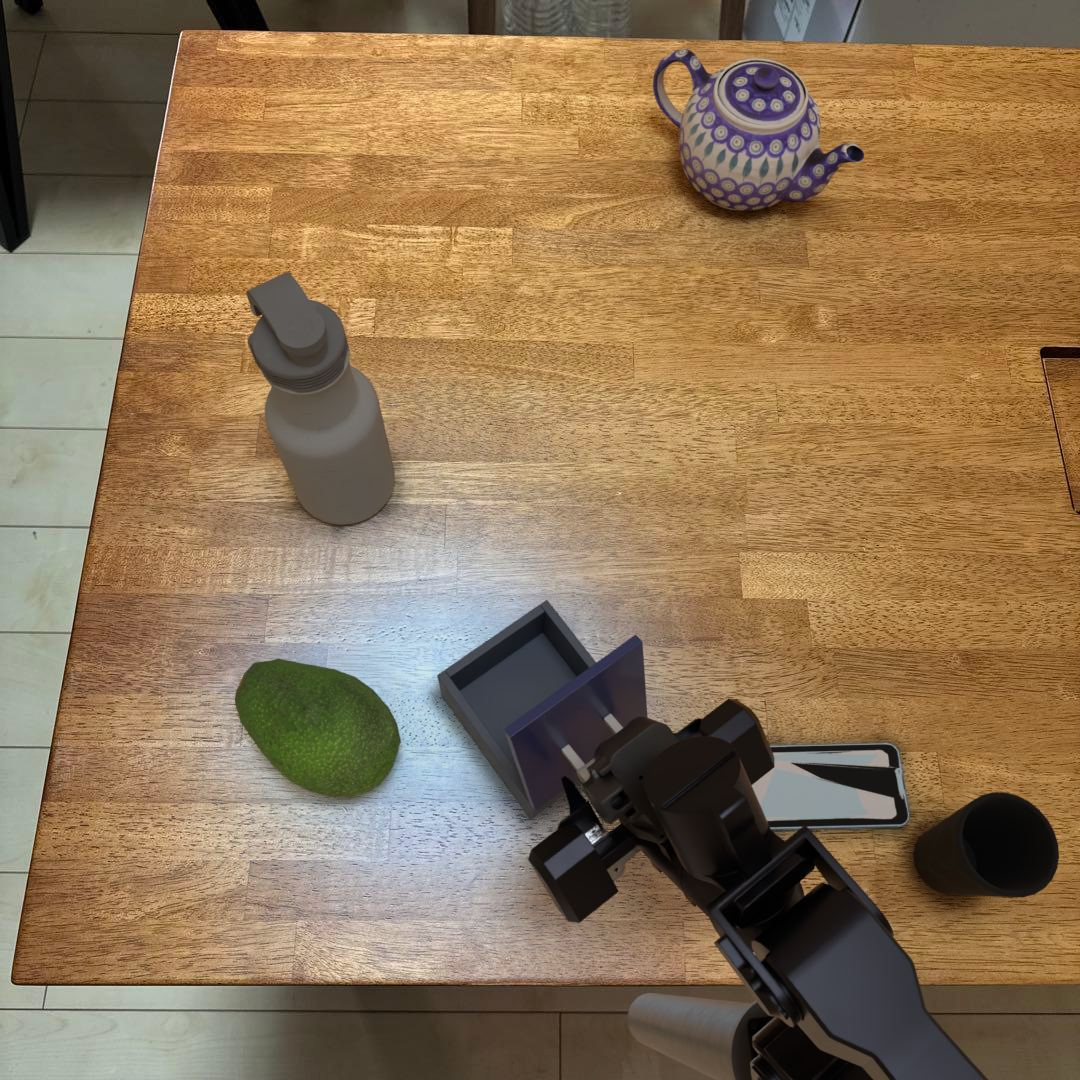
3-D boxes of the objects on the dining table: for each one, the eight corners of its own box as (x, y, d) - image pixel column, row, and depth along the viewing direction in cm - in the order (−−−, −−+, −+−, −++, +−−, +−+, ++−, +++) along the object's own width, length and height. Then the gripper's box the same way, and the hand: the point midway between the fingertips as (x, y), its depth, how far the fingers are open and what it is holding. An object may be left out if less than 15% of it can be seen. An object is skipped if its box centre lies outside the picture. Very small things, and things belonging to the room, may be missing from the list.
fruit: (222, 730, 90) (189, 702, 81) (295, 643, 94) (272, 606, 84) (354, 832, 87) (336, 815, 78) (426, 738, 90) (417, 711, 81)
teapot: (610, 161, 117) (623, 52, 104) (687, 86, 122) (710, -27, 109) (791, 276, 112) (831, 177, 98) (865, 193, 117) (912, 88, 103)
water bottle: (276, 465, 101) (197, 289, 75) (363, 420, 103) (315, 234, 77) (325, 545, 97) (259, 390, 72) (414, 497, 100) (381, 329, 74)
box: (441, 695, 92) (436, 675, 86) (544, 624, 95) (546, 599, 89) (530, 820, 88) (532, 808, 82) (635, 741, 91) (644, 723, 85)
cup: (888, 879, 87) (943, 865, 76) (917, 799, 90) (975, 774, 79) (974, 924, 86) (1043, 916, 75) (1001, 841, 88) (1072, 822, 77)
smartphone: (729, 745, 90) (897, 741, 90) (727, 747, 91) (894, 743, 91) (737, 831, 87) (911, 827, 87) (735, 832, 88) (908, 828, 88)
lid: (503, 729, 70) (541, 777, 67) (635, 633, 73) (676, 677, 70) (529, 803, 81) (562, 846, 79) (642, 719, 84) (676, 758, 82)
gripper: (789, 686, 64) (654, 608, 77) (551, 870, 59) (451, 753, 72) (837, 808, 69) (702, 715, 82) (620, 987, 64) (515, 858, 77)
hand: (597, 756), depth 78 cm, fingers open, 6 cm apart
